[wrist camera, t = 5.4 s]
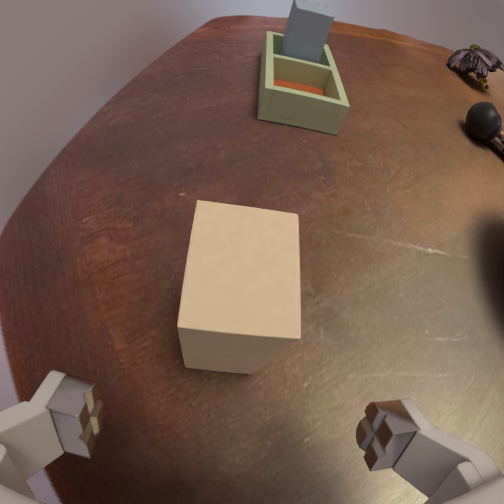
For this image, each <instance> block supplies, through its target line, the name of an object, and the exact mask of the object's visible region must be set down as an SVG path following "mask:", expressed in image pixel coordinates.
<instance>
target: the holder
mask: <svg viewBox="0 0 504 504" xmlns="http://www.w3.org/2000/svg"><path fill="white" fill-rule="evenodd" d="M283 37H284V34H280V33H275V32H269V31H267V33H266V37H265V41H264V46H263V50H262V54H261V70H260V85H259V101H258V117H257V119H259V120H265V121H271V122H277V123H282V124H287V125H292V126H297V127H302V128H307V129H312V130H316V131H321V132H325V133H329V134H334V135H337V133H338V131H339V129H340V127H341V125H342V123H343V120H344V118H345V116H346V114H347V112H348V110H349V108H350V106H349V103H348V100H347V97H346V94H345V91H344V88H343V85H342V82H341V79H340V76H339V73H338V70H337V68H336V65H335V62H334V60H333V57H332V54H331V52H330V49H329V46H328V45H327V44H325V45H324V48H323V51H322V53H321V56H320V59H319V62H318V63H314V62H309V61H305V60H301V59H296V58H292V57H287V56H282V55H279V52H280V48H281V44H282V41H283Z"/></svg>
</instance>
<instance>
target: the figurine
mask: <svg viewBox="0 0 504 504" xmlns="http://www.w3.org/2000/svg"><path fill="white" fill-rule="evenodd" d="M466 128H467V131H468V133H469V135H470V136H471V137H473V138H475V139H479V140H480V141H481V142H485V143H487V144H490V145H492V146H493V145H495V146H496V147H497V148H498V149H499V150H500V152H502V153H503V155H504V132H502V123H501V116H500V115H499V114H498V112H497V110H496V108H495V107H494V105H493V104H492V103H489V102H479V103H476V104H474V105H473V106H472V107H471V108H470V109H469V111H468V113H467V116H466Z"/></svg>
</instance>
